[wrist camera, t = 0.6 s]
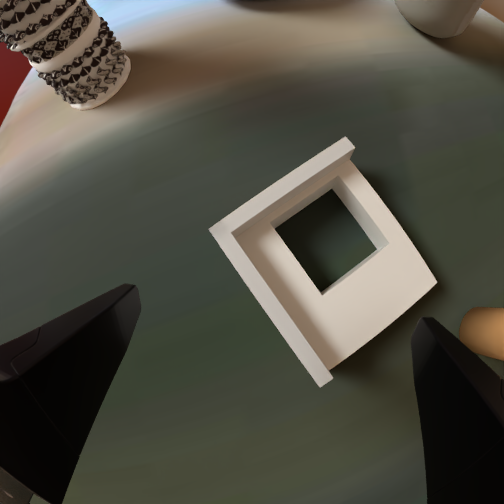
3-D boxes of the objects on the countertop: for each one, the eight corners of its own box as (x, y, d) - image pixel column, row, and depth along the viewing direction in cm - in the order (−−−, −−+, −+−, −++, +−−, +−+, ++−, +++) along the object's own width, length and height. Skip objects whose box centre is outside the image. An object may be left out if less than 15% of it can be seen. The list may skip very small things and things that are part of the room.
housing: (420, 283, 23) (450, 281, 18) (311, 368, 23) (319, 387, 18) (334, 164, 25) (345, 136, 20) (222, 241, 25) (208, 229, 20)
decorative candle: (150, 63, 28) (45, -119, 3) (89, 126, 27) (-73, -25, 3) (108, 42, 29) (13, -97, 4) (55, 96, 29) (-71, -22, 4)
